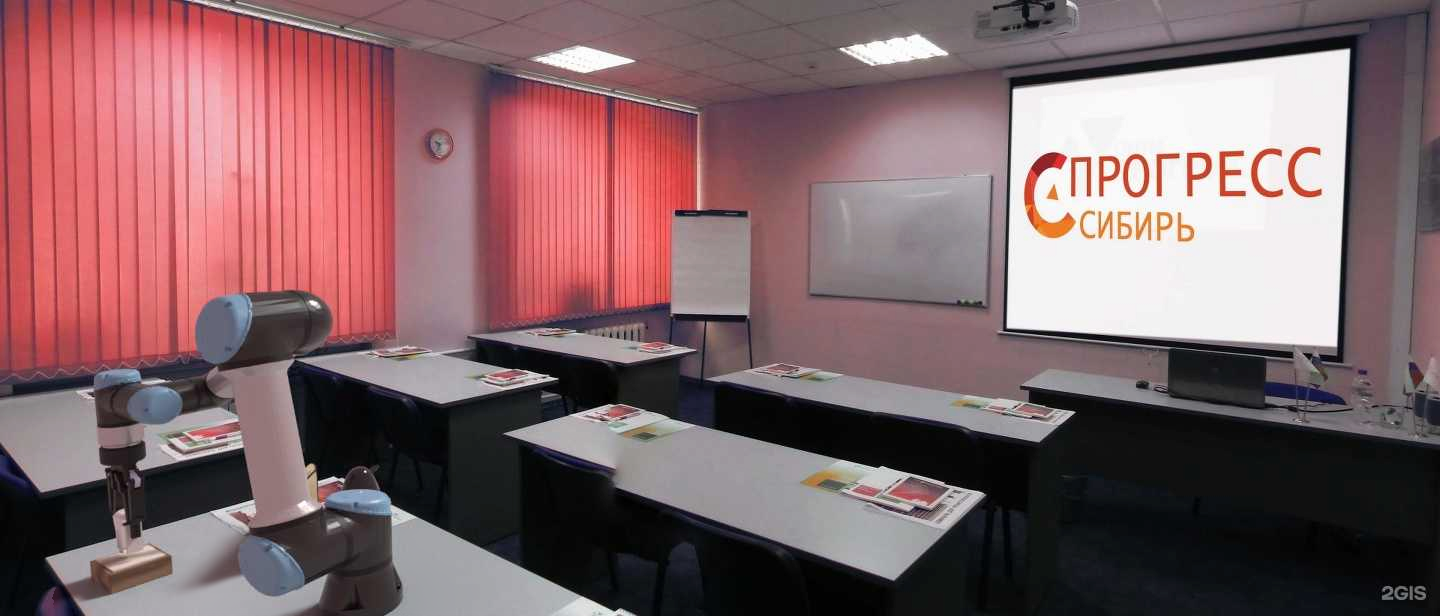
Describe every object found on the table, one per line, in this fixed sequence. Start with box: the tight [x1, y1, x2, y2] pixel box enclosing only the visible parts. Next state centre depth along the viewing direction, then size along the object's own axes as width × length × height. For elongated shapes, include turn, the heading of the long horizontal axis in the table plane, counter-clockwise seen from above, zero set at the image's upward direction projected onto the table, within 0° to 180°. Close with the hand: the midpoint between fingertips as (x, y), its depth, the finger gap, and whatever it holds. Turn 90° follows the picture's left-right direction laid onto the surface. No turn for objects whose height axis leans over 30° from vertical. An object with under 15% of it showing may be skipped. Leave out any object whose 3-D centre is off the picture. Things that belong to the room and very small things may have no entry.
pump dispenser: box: [340, 464, 381, 492], centre depth 179 cm, size 10×10×15 cm
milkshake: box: [112, 509, 126, 553], centre depth 151 cm, size 4×5×10 cm
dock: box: [89, 542, 174, 595], centre depth 152 cm, size 11×10×4 cm
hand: (130, 548), depth 151 cm, fingers closed on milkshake, 4 cm apart
